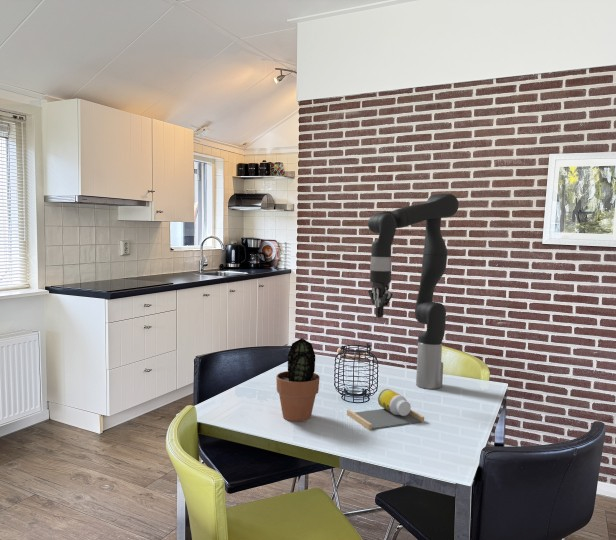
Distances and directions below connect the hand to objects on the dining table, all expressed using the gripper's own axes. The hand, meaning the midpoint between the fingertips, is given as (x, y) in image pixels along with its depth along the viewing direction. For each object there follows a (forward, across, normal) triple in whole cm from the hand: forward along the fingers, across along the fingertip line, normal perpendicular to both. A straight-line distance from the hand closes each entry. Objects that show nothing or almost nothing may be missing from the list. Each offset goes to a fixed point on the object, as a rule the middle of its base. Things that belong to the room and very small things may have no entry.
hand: (379, 317), depth 185 cm
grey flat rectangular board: (+29, -22, +10) cm, 37 cm away
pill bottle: (+25, -13, +5) cm, 29 cm away
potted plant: (+29, -11, +36) cm, 47 cm away
